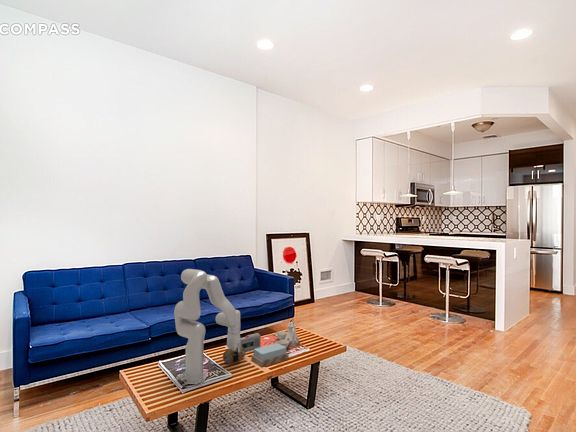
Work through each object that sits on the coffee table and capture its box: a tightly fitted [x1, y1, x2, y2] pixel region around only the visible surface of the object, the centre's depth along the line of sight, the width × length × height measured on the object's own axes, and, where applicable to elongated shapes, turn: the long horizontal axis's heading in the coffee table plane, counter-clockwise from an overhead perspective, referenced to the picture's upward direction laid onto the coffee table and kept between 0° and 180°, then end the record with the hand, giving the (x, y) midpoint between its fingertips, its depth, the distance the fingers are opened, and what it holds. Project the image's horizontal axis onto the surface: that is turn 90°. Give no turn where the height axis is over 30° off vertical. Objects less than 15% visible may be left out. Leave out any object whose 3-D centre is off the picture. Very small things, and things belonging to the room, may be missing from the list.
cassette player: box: [240, 332, 262, 353], centre depth 230 cm, size 16×3×10 cm, turn 128°
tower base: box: [250, 352, 290, 368], centre depth 214 cm, size 20×12×4 cm, turn 126°
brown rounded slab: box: [222, 347, 246, 365], centre depth 212 cm, size 15×3×8 cm, turn 129°
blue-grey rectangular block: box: [253, 342, 287, 361], centre depth 214 cm, size 18×10×4 cm, turn 127°
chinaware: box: [275, 321, 300, 349], centre depth 241 cm, size 28×17×17 cm, turn 10°
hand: (234, 359), depth 212 cm, fingers open, 3 cm apart
